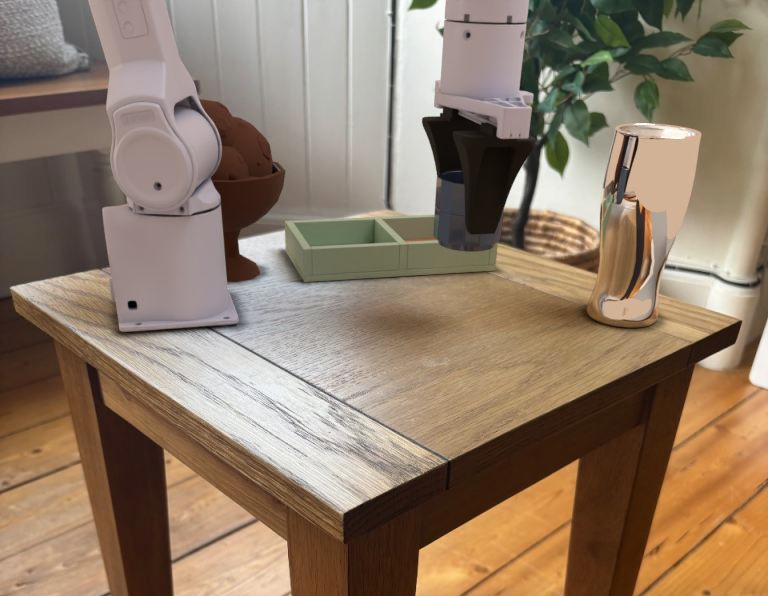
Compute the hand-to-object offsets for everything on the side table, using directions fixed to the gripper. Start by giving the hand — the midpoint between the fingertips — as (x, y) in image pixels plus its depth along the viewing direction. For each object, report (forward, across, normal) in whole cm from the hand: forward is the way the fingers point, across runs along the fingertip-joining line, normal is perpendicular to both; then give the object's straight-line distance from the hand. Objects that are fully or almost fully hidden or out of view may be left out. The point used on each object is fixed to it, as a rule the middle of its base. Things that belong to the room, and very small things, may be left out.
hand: (468, 222), depth 64 cm
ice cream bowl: (+9, +17, +17) cm, 26 cm away
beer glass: (+9, -1, -15) cm, 17 cm away
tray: (+8, +18, +1) cm, 20 cm away
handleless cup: (+2, 0, 0) cm, 2 cm away
